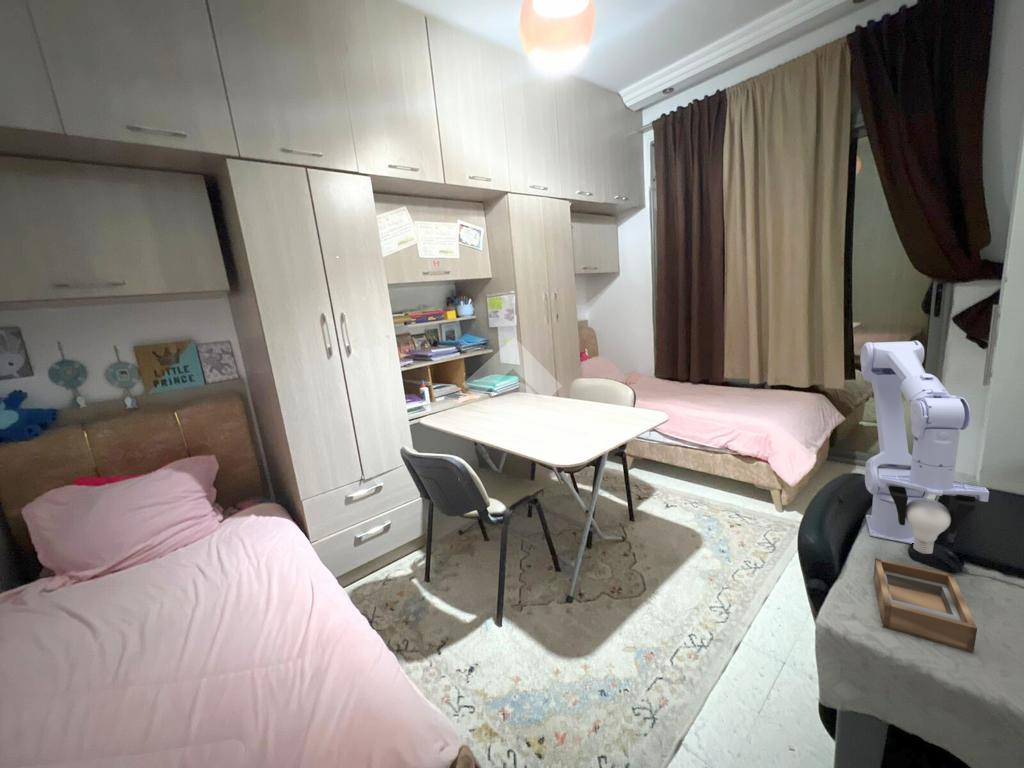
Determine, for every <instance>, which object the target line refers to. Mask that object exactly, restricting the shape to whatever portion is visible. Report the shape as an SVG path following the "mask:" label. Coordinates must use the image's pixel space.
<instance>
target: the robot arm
mask: <svg viewBox="0 0 1024 768" xmlns="http://www.w3.org/2000/svg"><path fill="white" fill-rule="evenodd" d="M859 359H860V360H859V361H860V369H861V375H862V379H863V380H864V381H867V382H868V383H870V384H871V386H872V388H871V389H872V391H873V398H874V409H875V417H876V426H877V435H878V436H877V437H878V446H879V453H877V454H876V455H873V456H871V457H870V458H869V459H867V460H866V462H865V471H864V472H865V473H864V483H865V487H866V490H867V491H868V492H869V494H871V495H872V505H871V514H866V515H865V520H866V522H867V527H868V532H869V536H871V537H874V538H880V539H884V540H890V541H895V542H900V543H905V544H909V545H910V544H911V545H913V544H912V543H914V537H915V536H914V534H913V530H912V527H911V526H910V524H909V523H908V521H907V520H906V518H905V511H906V505H907V504H908V503H909V502H910V501H912V500H914V499H918V498H927V497H929V495H933V496H940V497H942V496H943V495H944V496H945V495H946V496H949V509H948V511H949V512H950V515H951V524H950V526H949V527H948V528H947V529H946V530H947V531H948V533H949V534H951V535H956V532H957V530H958V528H959V526H960V525H961V523H962V522H963V521H964V519H966V517H968V515H969V514H971V513H972V512H973V511H975V510H976V509H977V505H978V504H977V502H976V500H978V501H979V502H984V503H985V502H986V503H988V502H989V499H990V498H989V496H990V491H989V490H988V489H987V488H986V487H984V486H978V485H973V484H972V485H971V484H967V483H962V482H958V481H955V480H954V477H955V472H956V462H957V457H958V456H957V455H958V450H959V449H958V448H959V439H960V432H961V431H964V430H966V429H967V428H968V426H969V424H970V421H971V409H970V406H969V403H968V401H967V400H966V398H965V397H962V396H957V395H951V393H949V391H948V390H947V389H946V387H945V386H944V385H943V384H942V382H941V381H940V380H939V379H938V377H937V376H935V375H933V374H932V373H926V371H925V368H924V366H923V363H924V360H925V347H924V345H923V344H922V343H921V342H920V341H919V340H910V341H908V340H907V341H887V342H886V341H885V342H884V341H883V342H882V341H881V342H871V341H867V342H865V343H864V344H863V345H862V347H861V350H860V357H859ZM902 394H903V396H904V397H905V399H906V401H907V402H908V404H909V406H910V409H909V412H910V413H909V414H910V421H911V427H910V428H911V429H910V430H911V435H913V443H912V445H913V446H912V453H911V454H910V452H909V445H908V439H907V427H906V422H905V413H904V404H903V396H902ZM960 430H961V431H960Z"/></svg>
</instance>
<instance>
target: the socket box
mask: <svg viewBox="0 0 1024 768" xmlns="http://www.w3.org/2000/svg"><path fill="white" fill-rule="evenodd" d="M873 565H874V567H873V577H872V580H873V584H874V589H875V594H876V600H877V604H878V609H880V610H879V614H881V615H880V619H882V620H881V625H882V624H883V625H882V628H884V629H887V630H892V631H894V632H897V633H902V634H904V635H908V636H912V637H915V638H919V639H921V640H922V639H923V640H927V641H930V642H934V643H937V644H940V645H943V646H947V647H952V648H955V649H957V650H961V651H965V652H968V653H971V654H974V652H975V644H976V639H977V633H978V627H977V625H976V623H975V620H974V618H973V617H972V614H971V612H970V609H969V607H968V605H967V603H966V601H965V599H964V596H963V594H962V592H961V589H960V587H959V585H958V583H957V581H956V579H955V576H954V574H951V573H947V572H942V571H939V570H933V569H928V568H925V567H920V566H919V567H918V566H915V565H909V564H905V563H900V562H897V561H891V560H887V559H883V558H882V559H881V558H877V557H875V558H874V564H873Z"/></svg>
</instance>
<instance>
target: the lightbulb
mask: <svg viewBox="0 0 1024 768" xmlns="http://www.w3.org/2000/svg"><path fill="white" fill-rule="evenodd" d="M905 518H906V520H907V521H908V523H909V524H910V526H911V527H912V530H913V534H914V536H915V537H914V544H913V550H915V551H917V552H918V553H920V554H923V555H930V554H931V555H932V554H933V552H934V546H935V541H937V540H938V536H939V535H940V534H942V533H943V532H945V531H946V530H947V528H948V527H949V526H950V524H951V515H950V512H949V509H948V508H947V507H946V506H945V505H944V504H943V503H941V502H939V501H937V500H935V499H932V498H927V497H926V498H918V499H914V500H912V501H910V502H909V503H908V504H907V505H906V511H905Z"/></svg>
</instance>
